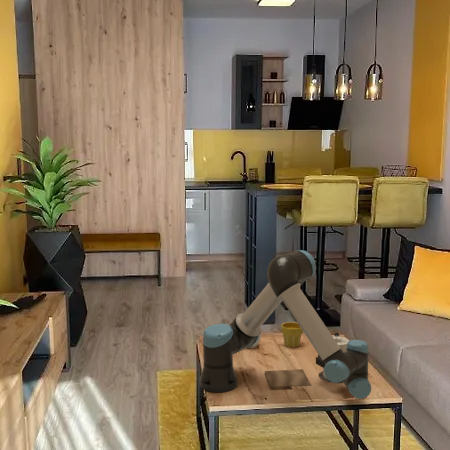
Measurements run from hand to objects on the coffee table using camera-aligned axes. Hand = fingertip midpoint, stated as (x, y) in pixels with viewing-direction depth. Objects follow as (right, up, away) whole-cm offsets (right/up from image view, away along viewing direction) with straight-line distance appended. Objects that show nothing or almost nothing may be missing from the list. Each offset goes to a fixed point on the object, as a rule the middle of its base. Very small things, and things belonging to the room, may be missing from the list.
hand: (333, 352), depth 241 cm
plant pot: (-13, -5, +37) cm, 40 cm away
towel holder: (0, -10, -3) cm, 10 cm away
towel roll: (0, -9, -3) cm, 9 cm away
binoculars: (+3, -7, +21) cm, 22 cm away
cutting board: (-19, -10, -4) cm, 22 cm away
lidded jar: (-33, -5, +37) cm, 49 cm away
